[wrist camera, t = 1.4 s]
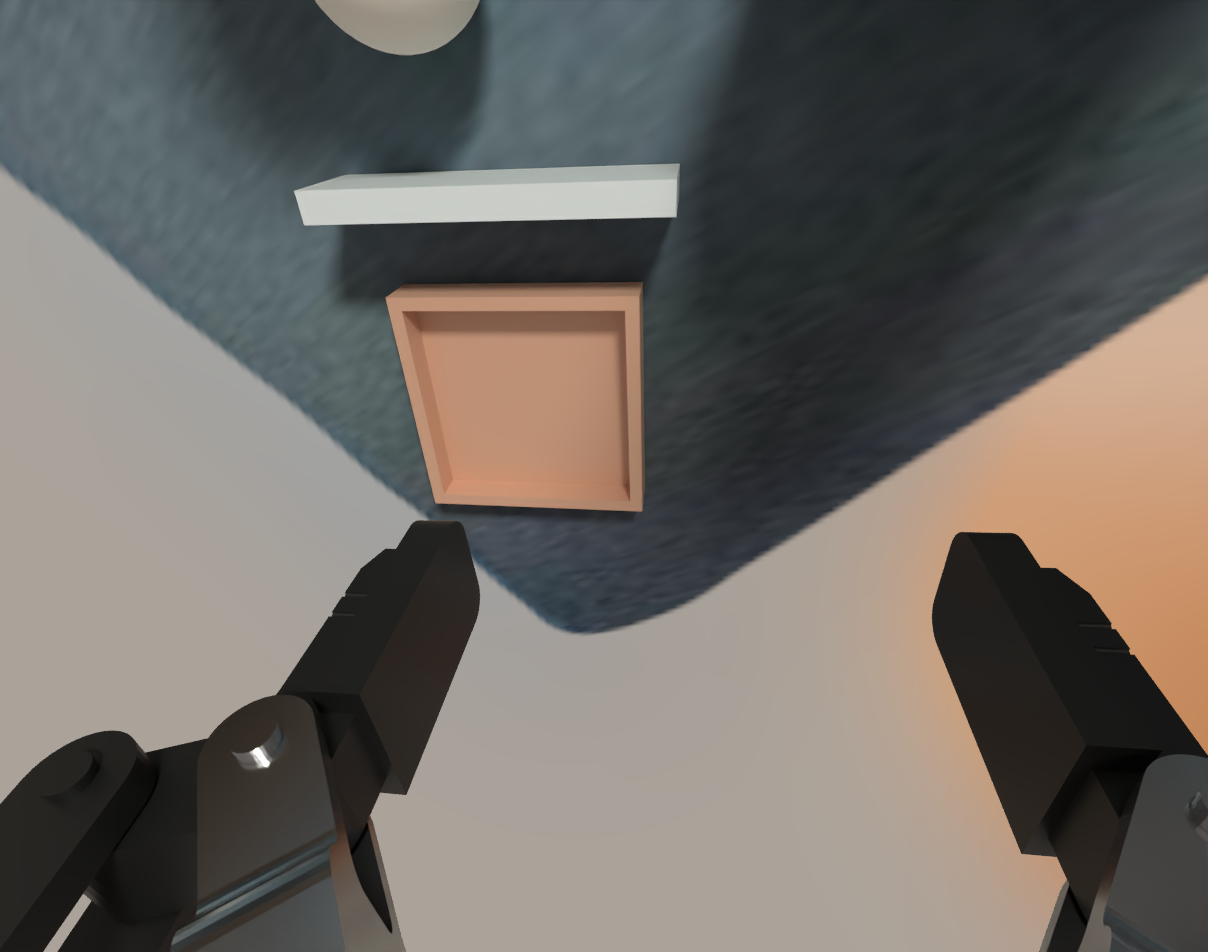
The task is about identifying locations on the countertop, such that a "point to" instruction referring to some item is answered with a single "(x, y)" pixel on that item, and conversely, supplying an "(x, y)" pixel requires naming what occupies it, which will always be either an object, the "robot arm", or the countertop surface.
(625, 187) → the wall
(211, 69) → the countertop surface
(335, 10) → the ball
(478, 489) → the dish
